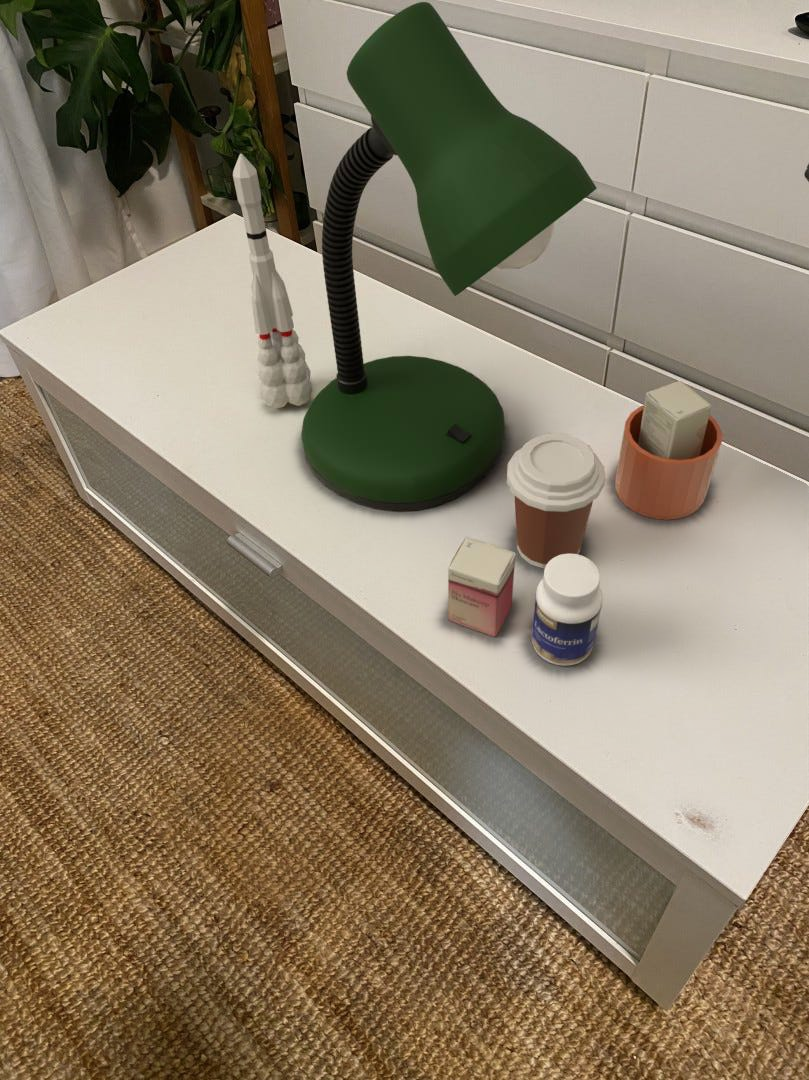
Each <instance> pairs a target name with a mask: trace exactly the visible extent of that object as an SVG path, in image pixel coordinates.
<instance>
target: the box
mask: <svg viewBox="0 0 809 1080" xmlns="http://www.w3.org/2000/svg"><path fill="white" fill-rule="evenodd" d="M643 405H644V410H643V416H642V422H641V428H640V434H639V440H638V445H639V446H640V448H642V449H644V450H645V451H647V452H649V453H650V454H652V455H655V456H659V457H662V458H665V459H674V460H685V459H693V458H696V457H699V456H700V452H701V448H702V444H703V439H704V435H705V431H706V427H707V422H708V418H709V415H711V409H712V404H711V403H709V402H708V401H707V400H706V399H705V398H703V396H701V395H700V394H698V393H697V392H696V391H695V390H693V389H692V388H691V387H689V386H688V385H687V384H686V383H684V382H683V381H682V380H678V381H674V382H672V383H669V384H666V385H663V386H660V387H658V388H654V389H653V390H650V391H647V392H645V399H644V403H643Z"/></svg>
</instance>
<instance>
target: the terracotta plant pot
mask: <svg viewBox="0 0 809 1080" xmlns="http://www.w3.org/2000/svg"><path fill="white" fill-rule="evenodd" d="M643 410H644V404H643V405H641V406H639V407H637V408H636V409H634V410H633V411H632V412H631V413H630V414H629V415H628V417H627V418H626V420H625V421H624V428H623V434H622V439H621V444H620V450H619V451H620V452H619V457H618V462H617V467H616V474H615V481H614V486H615V491H616V493H617V496H618V498H619V499H620V501H621V502H622V503H623V504H624V505H625V506H626V507H627V508H629V509H630V510H632V511H633V512H635V513H637V514H638V515H641V516H644V517H646V518H651V519H655V520H665V521H666V520H667V521H669V520H678V519H682V518H685V517H688V516H690V515H692V514H694V513H695V512H696V511H698V510H699V509H700V508H701V506H703V504H704V502H705V500H706V497H707V494H708V491H709V489H710V484H711V481H712V478H713V474H714V470H715V467H716V463H717V460H718V456H719V453H720V450H721V447H722V443H723V431H722V429H721V426H720V425H719V423H718V421H717V420H716V419H715V418H714V417H713V415H712V416H711V414H709V418H708V422H707V427H706V431H705V435H704V439H703V444H702V448H701V452H700V456H699V457H696V458H693V459H685V460H674V459H665V458H662V457H659V456H655V455H652V454H650V453H649V452H647V451H645V450H644V449H642V448H640V446H639V445H638V440H639V434H640V428H641V422H642V416H643Z"/></svg>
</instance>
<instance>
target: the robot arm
mask: <svg viewBox="0 0 809 1080" xmlns="http://www.w3.org/2000/svg"><path fill="white" fill-rule="evenodd" d="M803 174H804V175H803V176H804V178H805V179H806V181H807V182H808V183H809V163H807V166H806V169H805V171H804V173H803Z"/></svg>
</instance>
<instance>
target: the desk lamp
mask: <svg viewBox="0 0 809 1080" xmlns="http://www.w3.org/2000/svg"><path fill="white" fill-rule="evenodd" d="M346 78H347V81H348V84H349V85H350V87H351V88H352V89H353V91H354V93H355V94H356V96H357V97H358V99H359V100H360V102H361V103H362V104H363V107H365V109H366V111H367V112H368V113H369V114H370V120H371V121H370V122H371V125H372V126H371V127H369V128H368V129H367V130H366V131H365V132H363V133H362V134H361V135H360V136H359V137H358V138H357V139H356V140H355V141H354V142H353V144H352V145H351V146H350V148H348V150H347V151H346V152H345V154H344V155H343V157H342V158H341V160H340V161H339V163H338V165H337V167H336V169H335V171H334V174H333V176H332V178H331V181H330V185H329V189H328V191H327V196H326V201H325V207H324V211H323V212H324V214H323V219H322V220H323V221H322V231H321V258H322V267H323V275H324V277H323V278H324V283H325V290H326V297H327V304H328V305H327V306H328V313H329V319H330V327H331V334H332V341H333V347H334V356H335V363H336V370H337V373H336V377H335V378H334V379H333V380H331V381H330V382H329V383H328V384H326V385H325V386H324V387H323V388H322V389H321V390H319V392H318V393H317V394H316V396H315V397H314V399H313V400H312V401H311V402H310V404H309V406H308V408H307V410H306V412H305V414H304V416H303V420H302V428H301V436H300V437H301V443H302V448H303V452H304V457H305V461H306V464H307V466H308V467H309V469H310V471H311V472H312V475H314V476H315V477H316V479H318V480H319V482H321V483H322V484H323V485H324V486H325V487H326V488H328V489H329V490H331V491H332V492H334V493H335V494H337V495H338V496H340V497H342V498H344V499H347V500H349V501H351V502H354V503H356V504H358V505H361V506H366V507H369V508H373V509H378V510H386V511H394V512H405V511H408V512H409V511H419V510H424V509H429V508H434V507H437V506H440V505H442V504H445V503H447V502H450V501H452V500H456V499H457V498H458V497H460V496H462V495H463V494H465V493H467V492H468V491H470V490H472V489H473V488H475V486H476V485H478V484H479V483H480V482H482V481H483V480H484V479H486V477H487V476H488V474H489V473H490V472H491V471H492V470H493V468H494V467H495V466H496V464H497V462H498V460H499V458H500V457H501V455H502V451H503V447H504V444H505V439H506V437H505V436H506V435H505V434H506V424H505V415H504V409H503V407H502V405H501V402H500V400H499V398H498V396H497V395H496V393H495V392H494V391H493V390H492V389H491V388H490V387H489V385H487V383H485V382H484V381H483V380H482V379H480V378H479V377H478V376H476V375H474V374H473V373H471V372H470V371H468V370H466V369H464V368H462V367H460V366H458V365H455V364H452V363H450V362H446V361H443V360H440V359H434V358H430V357H426V356H417V355H416V356H415V355H395V356H388V357H382V358H377V359H374V360H370V361H367V362H365V363H364V354H363V353H364V352H363V345H362V336H361V335H362V334H361V328H360V319H359V310H358V303H357V302H358V300H357V292H356V284H355V282H356V281H355V273H354V272H355V271H354V261H353V260H354V259H353V238H354V229H355V225H356V224H355V223H356V219H357V214H358V209H359V204H360V201H361V198H362V195H363V193H364V190H365V188H366V187H367V185H368V183H369V182H370V181H371V179H372V177H373V176H374V175H375V174H376V173H377V172H378V171H379V170H381V168H382V167H384V165H386V164H387V163H388V162H390V161H391V160H392V159H393V157H394V156H397V158H398V159H399V160H400V162H401V163H402V165H403V167H404V168H405V170H406V172H407V173H408V175H409V178H410V180H411V182H412V184H413V187H414V190H415V193H416V203H417V212H418V217H419V220H420V225H421V228H422V232H423V235H424V239H425V242H426V246H427V248H428V251H429V254H430V257H431V261H432V264H433V267H434V268H435V270H436V272H437V273H438V275H439V276H440V277H441V279H442V280H443V282H444V283H445V285H446V286H447V287H448V289H449V291H450V292H451V293H452V295H453V296H454V297H456V296H458V295H459V294H461V293H462V292H463V291H465V290H466V289H468V288H469V287H470V286H472V285H473V284H474V283H475V282H477V281H478V280H480V279H481V278H483V277H484V276H485V275H486V274H488V273H489V272H491V271H492V270H493V269H495V268H498V269H500V270H519V269H521V268H524V267H526V266H528V265H530V264H532V263H534V262H536V261H537V260H538V259H539V258H540V257H541V256H542V255H543V253H544V252H545V251H546V250H547V248H548V247H549V245H550V242H551V239H552V237H553V234H554V229H555V222H556V221H557V220H559V219H560V218H562V217H563V216H564V215H565V214H566V213H568V212H569V211H570V210H572V209H573V208H574V207H575V206H577V205H578V204H580V203H581V202H583V200H585V199H586V198H587V197H588V196H590V195H591V194H592V193H594V192H595V191H596V190H597V189H598V188H597V185H596V184H595V182H594V181H593V179H592V178H591V176H590V175H589V174H588V173H589V172H587V170H586V169H585V167H584V166H583V164H582V162H581V161H580V159H579V158H578V156H576V155H575V154H574V152H571V151H570V150H569V149H568V148H567V147H566V146H564V145H563V144H561V142H559V141H558V140H557V139H555V138H554V137H552V136H551V135H550V134H548V132H546V131H545V130H543V129H542V128H540V127H538V125H536V124H535V123H533V122H531V121H529V120H528V119H526V118H523V117H521V116H519V115H516V114H514V113H512V112H511V111H509V110H508V109H507V108H506V107H505V106H504V105H503V104H502V103H501V102H500V100H499V99H498V97H496V95H495V94H494V93H493V91H492V90H491V89H490V88H489V86H488V85H487V84H486V82H485V80H483V78H482V77H481V75H480V74H479V72H478V71H477V69H476V68H475V66H474V65H473V64H472V62H471V60H470V59H469V58H468V55H466V53H465V52H464V49H462V47H461V46H460V44H459V42H458V41H457V39H456V38H455V36H454V35H453V34H452V32H451V31H450V29H449V28H448V26H447V25H446V23H445V22H444V20H443V18H442V17H441V16H440V14H439V13H438V12H437V10H436V9H435V7H434V6H433V5H432V4H431V3H430V2H428V1H420V2H416V3H413V4H411V5H409V6H407V7H405V8H403V9H402V10H400V11H399V12H397V13H396V14H394V15H393V16H392V17H390V18H389V19H387V20H386V21H385V22H384V23H382V25H380V26H379V27H378V28H376V30H375V31H373V33H371V35H370V36H369V37H368V38H367V39H366V40H365V42H364V43H363V44H361V46H360V47H359V49H358V50H357V51H356V52H355V54H354V55H353V57H352V58H351V60H350V61H349V64H348V66H347V70H346Z"/></svg>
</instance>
